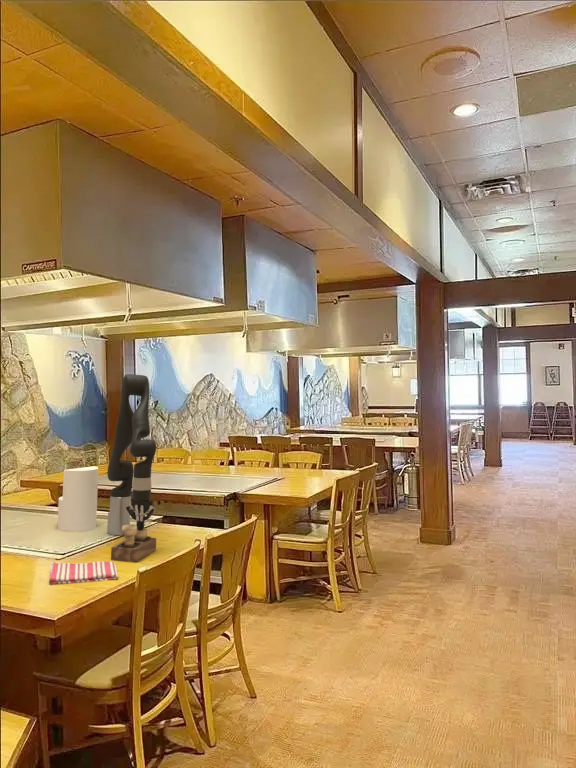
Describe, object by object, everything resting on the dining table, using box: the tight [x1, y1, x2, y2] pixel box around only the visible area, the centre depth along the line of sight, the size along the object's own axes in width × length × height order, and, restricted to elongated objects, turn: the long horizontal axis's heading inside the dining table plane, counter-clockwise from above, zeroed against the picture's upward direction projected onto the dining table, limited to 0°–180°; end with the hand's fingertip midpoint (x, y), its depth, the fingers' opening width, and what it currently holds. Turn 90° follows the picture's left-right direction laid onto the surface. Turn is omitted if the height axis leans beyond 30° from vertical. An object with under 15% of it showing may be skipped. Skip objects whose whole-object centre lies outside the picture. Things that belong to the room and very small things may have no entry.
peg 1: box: [121, 524, 137, 546], centre depth 239 cm, size 6×6×9 cm
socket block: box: [110, 535, 157, 563], centre depth 244 cm, size 11×18×6 cm, turn 169°
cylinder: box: [57, 465, 99, 533], centre depth 284 cm, size 17×17×28 cm
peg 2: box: [134, 527, 148, 540], centre depth 248 cm, size 6×6×9 cm
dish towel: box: [48, 560, 119, 585], centre depth 217 cm, size 17×23×4 cm
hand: (140, 529), depth 248 cm, fingers closed
